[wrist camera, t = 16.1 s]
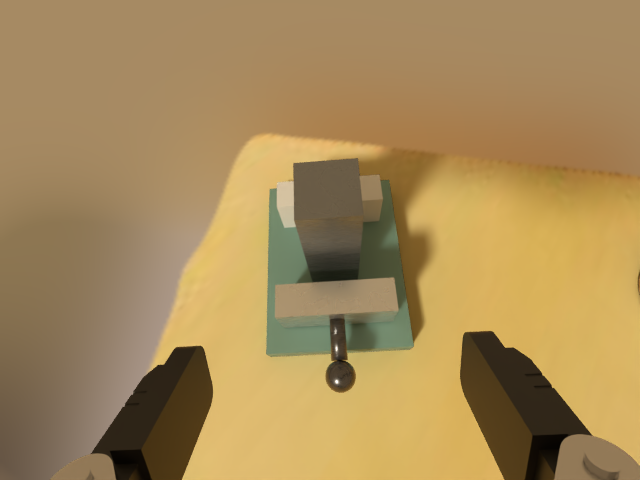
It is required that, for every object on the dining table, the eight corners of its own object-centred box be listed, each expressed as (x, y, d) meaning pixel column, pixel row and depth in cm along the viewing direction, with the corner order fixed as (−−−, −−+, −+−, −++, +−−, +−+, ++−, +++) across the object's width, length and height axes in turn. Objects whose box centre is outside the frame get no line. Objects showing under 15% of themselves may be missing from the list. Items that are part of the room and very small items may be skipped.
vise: (409, 349, 30) (423, 338, 25) (271, 356, 31) (254, 347, 25) (387, 190, 37) (393, 154, 31) (273, 199, 37) (260, 165, 32)
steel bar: (311, 241, 33) (293, 163, 22) (354, 239, 33) (357, 158, 22) (312, 283, 31) (293, 220, 20) (358, 280, 31) (363, 215, 20)
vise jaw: (400, 390, 27) (409, 388, 23) (283, 395, 27) (274, 395, 24) (388, 292, 30) (394, 277, 26) (283, 298, 30) (275, 284, 27)
